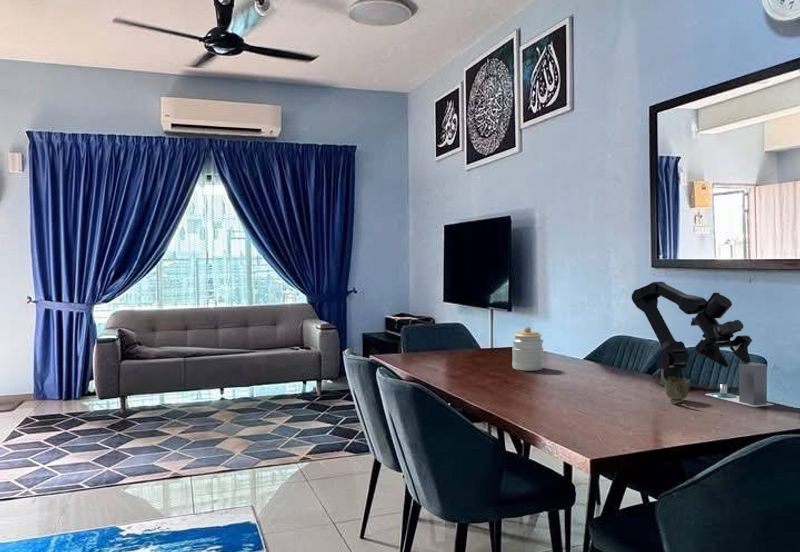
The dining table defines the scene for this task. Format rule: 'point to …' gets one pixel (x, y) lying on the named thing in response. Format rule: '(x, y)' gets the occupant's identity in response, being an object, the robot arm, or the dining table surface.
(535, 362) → the jar
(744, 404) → the mounting plate
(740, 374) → the tall grey box
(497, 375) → the dining table surface
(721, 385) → the teal base with post
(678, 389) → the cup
